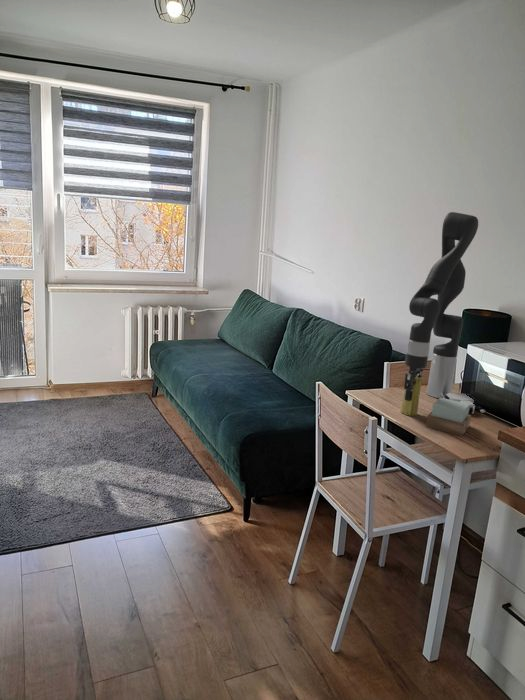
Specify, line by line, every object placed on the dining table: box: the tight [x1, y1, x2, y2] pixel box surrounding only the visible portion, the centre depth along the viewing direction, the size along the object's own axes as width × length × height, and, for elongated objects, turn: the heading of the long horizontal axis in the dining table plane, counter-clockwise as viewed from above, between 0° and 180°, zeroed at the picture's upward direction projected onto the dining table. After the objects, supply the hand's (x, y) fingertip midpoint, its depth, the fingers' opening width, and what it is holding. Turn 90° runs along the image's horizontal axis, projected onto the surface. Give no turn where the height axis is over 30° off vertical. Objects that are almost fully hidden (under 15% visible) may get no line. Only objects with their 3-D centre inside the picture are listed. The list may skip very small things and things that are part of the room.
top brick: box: [431, 398, 470, 423], centre depth 190 cm, size 10×10×4 cm
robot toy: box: [441, 392, 486, 415], centre depth 211 cm, size 12×4×15 cm
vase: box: [400, 375, 423, 417], centre depth 200 cm, size 6×6×14 cm
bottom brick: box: [425, 411, 472, 437], centre depth 191 cm, size 12×12×4 cm
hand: (410, 398), depth 200 cm, fingers closed on vase, 5 cm apart
